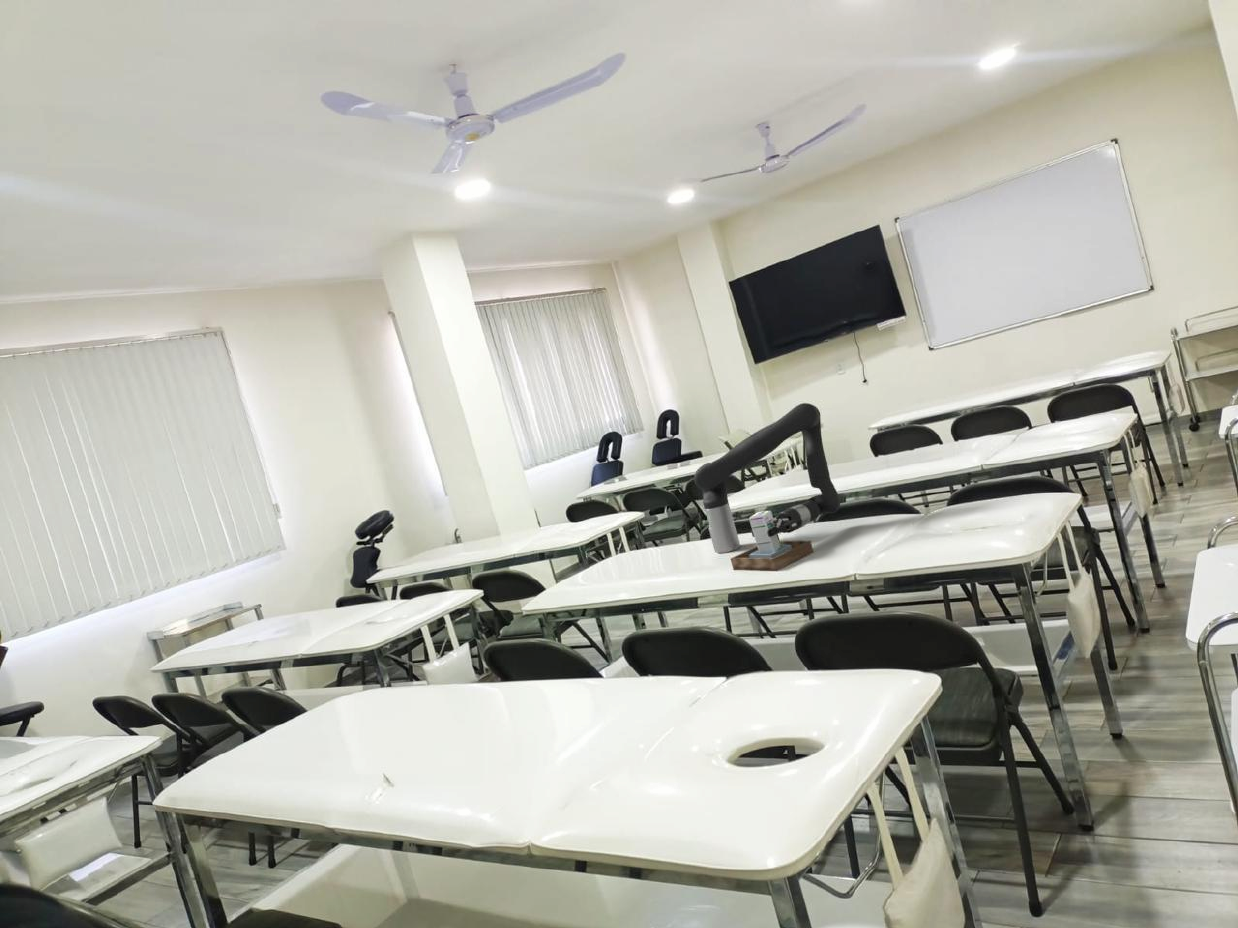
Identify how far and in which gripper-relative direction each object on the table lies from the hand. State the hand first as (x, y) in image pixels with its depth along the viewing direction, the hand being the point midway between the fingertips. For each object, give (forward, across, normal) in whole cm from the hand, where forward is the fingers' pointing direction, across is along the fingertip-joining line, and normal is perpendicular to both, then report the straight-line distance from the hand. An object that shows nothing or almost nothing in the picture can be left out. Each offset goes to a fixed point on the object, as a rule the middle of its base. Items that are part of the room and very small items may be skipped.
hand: (760, 534), depth 268 cm
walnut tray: (-2, 0, +10) cm, 10 cm away
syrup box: (-2, 0, +8) cm, 8 cm away
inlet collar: (-2, 0, +10) cm, 10 cm away
